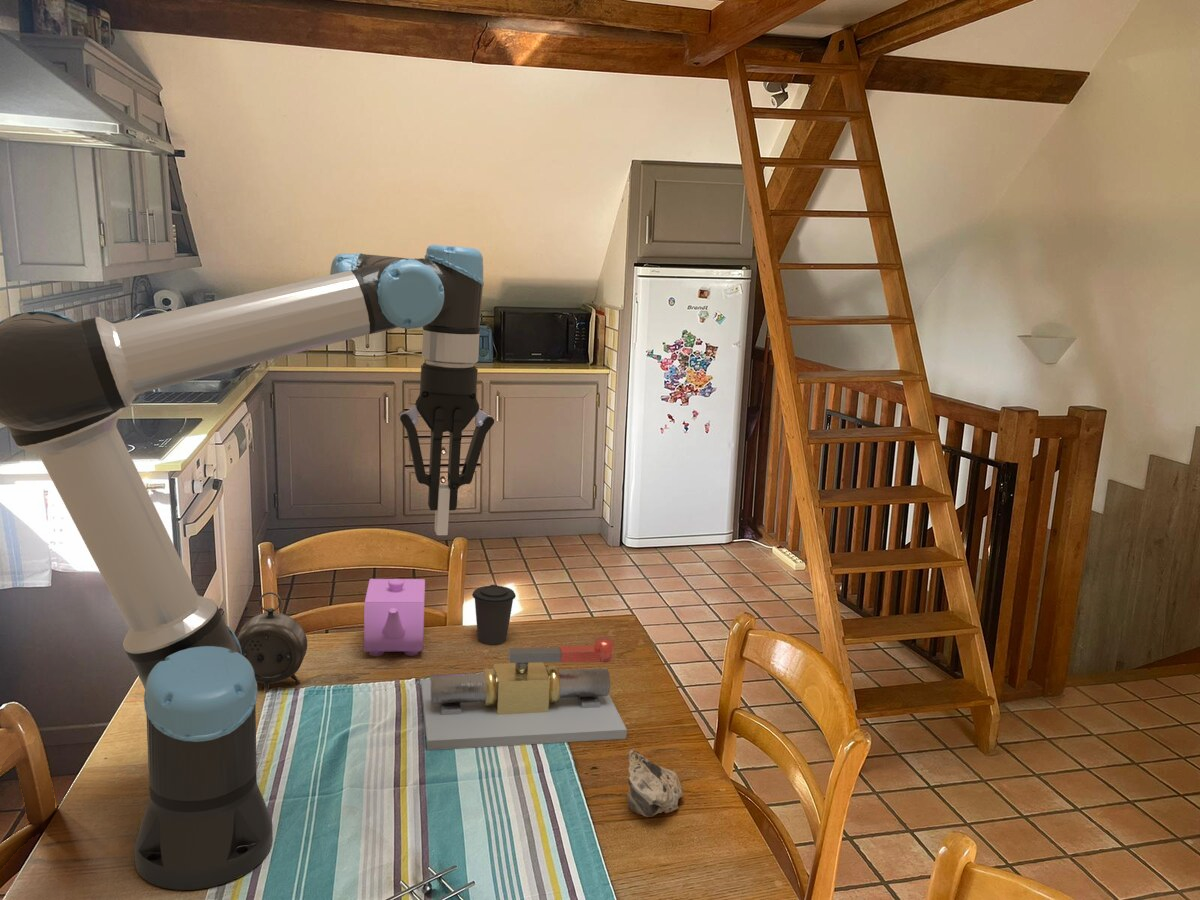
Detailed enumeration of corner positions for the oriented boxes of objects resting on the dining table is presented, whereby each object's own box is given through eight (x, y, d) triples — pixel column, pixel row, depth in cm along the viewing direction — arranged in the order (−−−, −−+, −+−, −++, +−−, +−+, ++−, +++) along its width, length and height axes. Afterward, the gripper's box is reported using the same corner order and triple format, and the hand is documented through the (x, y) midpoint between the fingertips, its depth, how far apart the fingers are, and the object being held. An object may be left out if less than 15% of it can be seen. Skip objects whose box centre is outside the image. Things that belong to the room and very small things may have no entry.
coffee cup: (497, 627, 185) (500, 578, 183) (522, 642, 179) (524, 591, 177) (462, 636, 180) (463, 586, 178) (486, 651, 174) (488, 599, 172)
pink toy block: (369, 627, 181) (370, 564, 179) (423, 627, 183) (425, 565, 180) (361, 674, 162) (362, 604, 159) (421, 673, 164) (423, 604, 161)
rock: (624, 766, 136) (607, 752, 127) (672, 749, 135) (659, 735, 126) (642, 829, 131) (625, 819, 122) (691, 813, 130) (678, 802, 122)
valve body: (610, 708, 152) (612, 673, 151) (431, 717, 145) (432, 681, 144) (601, 690, 158) (603, 656, 157) (429, 698, 152) (430, 663, 150)
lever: (509, 674, 149) (511, 646, 148) (508, 666, 152) (509, 638, 151) (613, 672, 152) (615, 644, 151) (610, 664, 155) (611, 636, 154)
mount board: (626, 738, 146) (626, 729, 146) (427, 750, 139) (427, 740, 139) (597, 680, 165) (597, 672, 165) (420, 688, 158) (421, 679, 158)
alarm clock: (307, 679, 159) (307, 586, 155) (301, 694, 153) (301, 599, 150) (239, 678, 157) (238, 585, 154) (230, 693, 152) (229, 597, 149)
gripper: (492, 362, 133) (483, 524, 138) (397, 357, 130) (390, 524, 134) (502, 369, 126) (492, 540, 131) (402, 364, 123) (395, 540, 127)
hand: (440, 532), depth 133 cm, fingers closed
